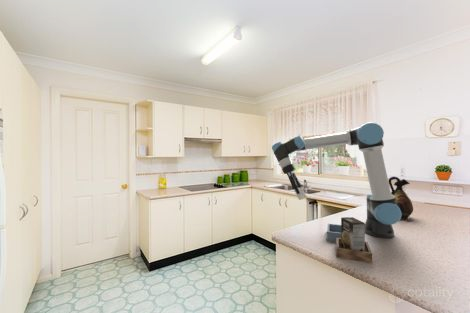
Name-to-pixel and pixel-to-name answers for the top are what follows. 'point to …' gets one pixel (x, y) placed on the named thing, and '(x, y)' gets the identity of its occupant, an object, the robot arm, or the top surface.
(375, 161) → the robot arm
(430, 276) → the top surface
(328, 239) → the slate tray
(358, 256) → the walnut caddy
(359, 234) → the coffee box
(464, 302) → the top surface
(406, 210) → the ceramic jug
